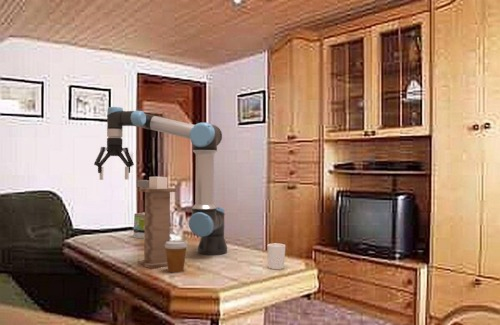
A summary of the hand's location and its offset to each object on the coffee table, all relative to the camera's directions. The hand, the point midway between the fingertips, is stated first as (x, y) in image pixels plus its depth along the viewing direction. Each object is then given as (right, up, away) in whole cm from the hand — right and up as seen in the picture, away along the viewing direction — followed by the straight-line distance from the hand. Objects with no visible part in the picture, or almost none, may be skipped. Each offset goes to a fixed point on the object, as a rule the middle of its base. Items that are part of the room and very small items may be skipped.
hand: (114, 179), depth 231 cm
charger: (+24, -3, -24) cm, 34 cm away
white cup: (+80, -38, -31) cm, 94 cm away
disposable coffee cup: (+38, -37, -39) cm, 66 cm away
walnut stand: (+27, -37, -29) cm, 54 cm away
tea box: (+6, -37, +48) cm, 61 cm away
